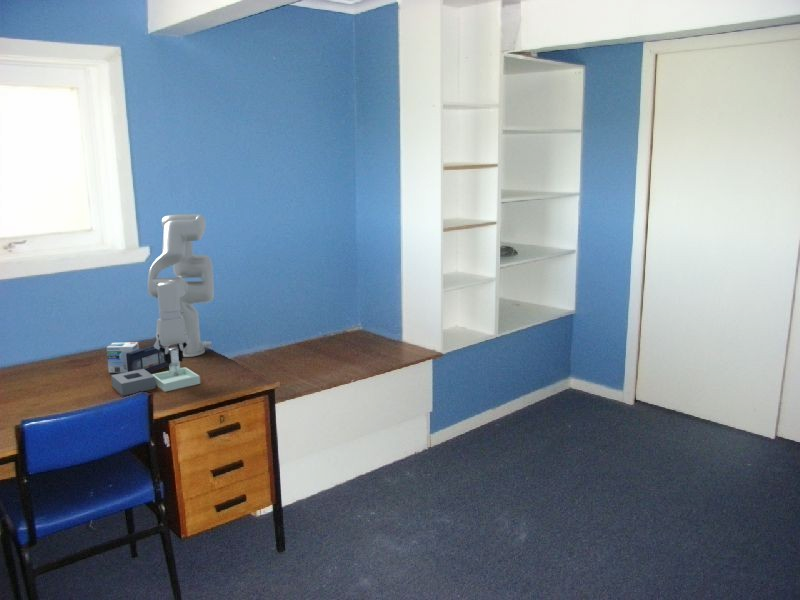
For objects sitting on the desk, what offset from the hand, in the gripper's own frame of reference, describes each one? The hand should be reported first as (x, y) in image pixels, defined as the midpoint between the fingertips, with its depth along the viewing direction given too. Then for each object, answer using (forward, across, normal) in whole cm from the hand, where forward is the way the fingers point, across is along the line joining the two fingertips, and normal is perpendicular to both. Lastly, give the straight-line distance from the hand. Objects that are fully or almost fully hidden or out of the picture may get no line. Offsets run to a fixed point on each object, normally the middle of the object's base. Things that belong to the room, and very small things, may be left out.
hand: (174, 361), depth 257 cm
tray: (+8, 0, 0) cm, 8 cm away
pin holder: (+8, +14, -5) cm, 17 cm away
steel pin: (+5, 0, 0) cm, 5 cm away
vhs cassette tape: (+9, +3, -20) cm, 22 cm away
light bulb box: (+9, +10, -28) cm, 31 cm away
